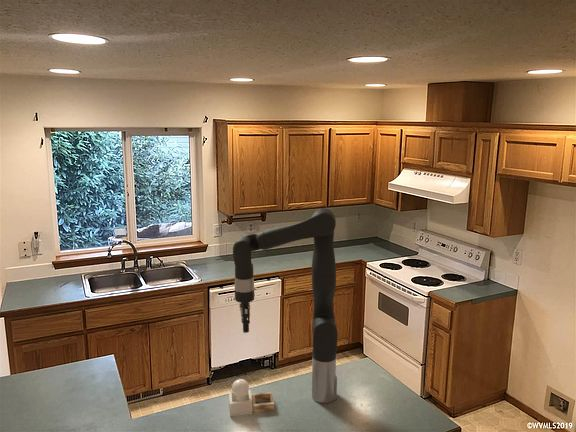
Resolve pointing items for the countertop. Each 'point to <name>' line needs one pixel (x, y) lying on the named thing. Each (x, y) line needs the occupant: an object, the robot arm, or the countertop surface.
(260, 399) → the wooden frame
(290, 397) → the countertop surface
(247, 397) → the cream open cubby box
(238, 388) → the lightbulb
